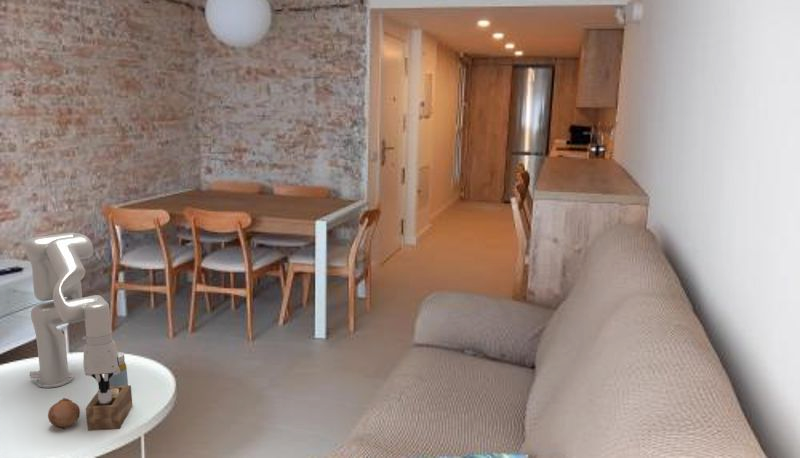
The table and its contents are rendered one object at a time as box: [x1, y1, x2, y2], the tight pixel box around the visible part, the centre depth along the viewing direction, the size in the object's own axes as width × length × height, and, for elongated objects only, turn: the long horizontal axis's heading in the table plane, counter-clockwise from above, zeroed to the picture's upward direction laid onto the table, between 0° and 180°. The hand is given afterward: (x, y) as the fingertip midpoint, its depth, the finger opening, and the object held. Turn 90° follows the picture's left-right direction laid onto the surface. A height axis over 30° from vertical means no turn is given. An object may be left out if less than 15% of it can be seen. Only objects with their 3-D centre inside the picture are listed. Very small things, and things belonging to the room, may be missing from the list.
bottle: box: [109, 351, 129, 386], centre depth 238 cm, size 7×7×15 cm
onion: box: [47, 397, 81, 430], centre depth 215 cm, size 10×9×10 cm
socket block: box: [85, 384, 134, 432], centre depth 220 cm, size 10×16×8 cm, turn 8°
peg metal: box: [97, 389, 112, 406], centre depth 215 cm, size 4×4×8 cm
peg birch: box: [111, 388, 119, 395], centre depth 224 cm, size 4×4×8 cm
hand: (104, 391), depth 214 cm, fingers closed
